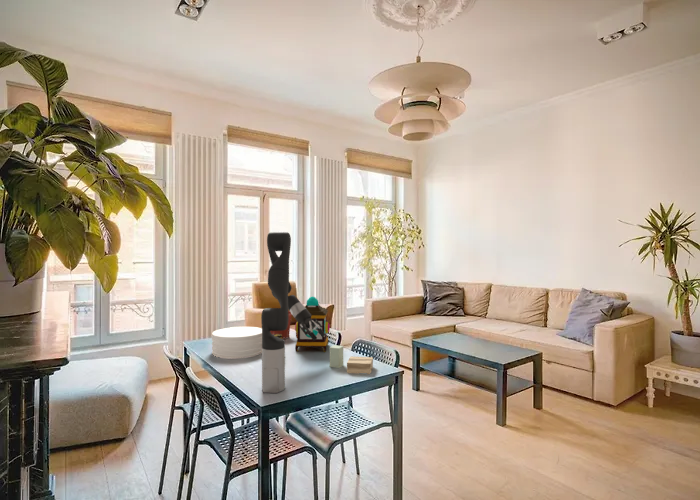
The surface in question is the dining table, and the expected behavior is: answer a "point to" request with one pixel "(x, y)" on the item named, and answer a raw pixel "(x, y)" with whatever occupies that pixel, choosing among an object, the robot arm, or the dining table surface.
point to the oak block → (360, 365)
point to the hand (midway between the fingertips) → (319, 337)
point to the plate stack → (237, 342)
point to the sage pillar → (336, 356)
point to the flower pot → (285, 332)
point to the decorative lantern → (306, 340)
